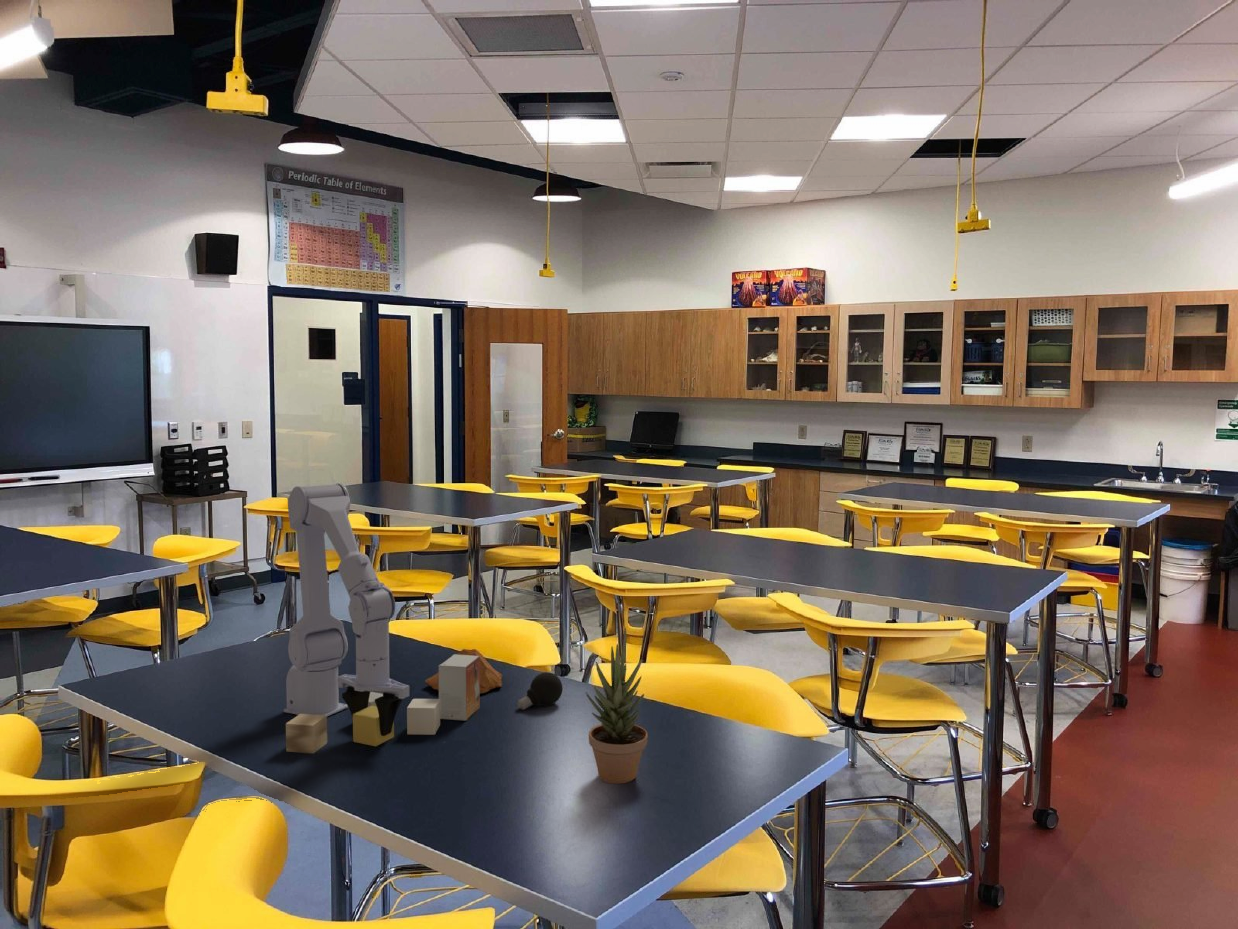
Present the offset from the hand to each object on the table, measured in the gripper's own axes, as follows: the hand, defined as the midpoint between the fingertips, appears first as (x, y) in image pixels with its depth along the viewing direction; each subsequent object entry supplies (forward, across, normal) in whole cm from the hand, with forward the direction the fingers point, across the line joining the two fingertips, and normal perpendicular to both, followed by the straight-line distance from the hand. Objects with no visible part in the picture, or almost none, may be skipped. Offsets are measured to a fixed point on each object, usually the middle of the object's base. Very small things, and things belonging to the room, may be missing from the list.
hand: (373, 731), depth 170 cm
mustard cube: (+1, 0, 0) cm, 1 cm away
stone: (+2, -2, +32) cm, 33 cm away
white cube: (+2, +5, +8) cm, 10 cm away
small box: (+2, +6, +18) cm, 19 cm away
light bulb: (+2, +18, +29) cm, 34 cm away
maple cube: (+2, -8, -8) cm, 11 cm away
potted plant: (+2, +46, +5) cm, 46 cm away
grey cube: (+2, -6, +7) cm, 9 cm away
